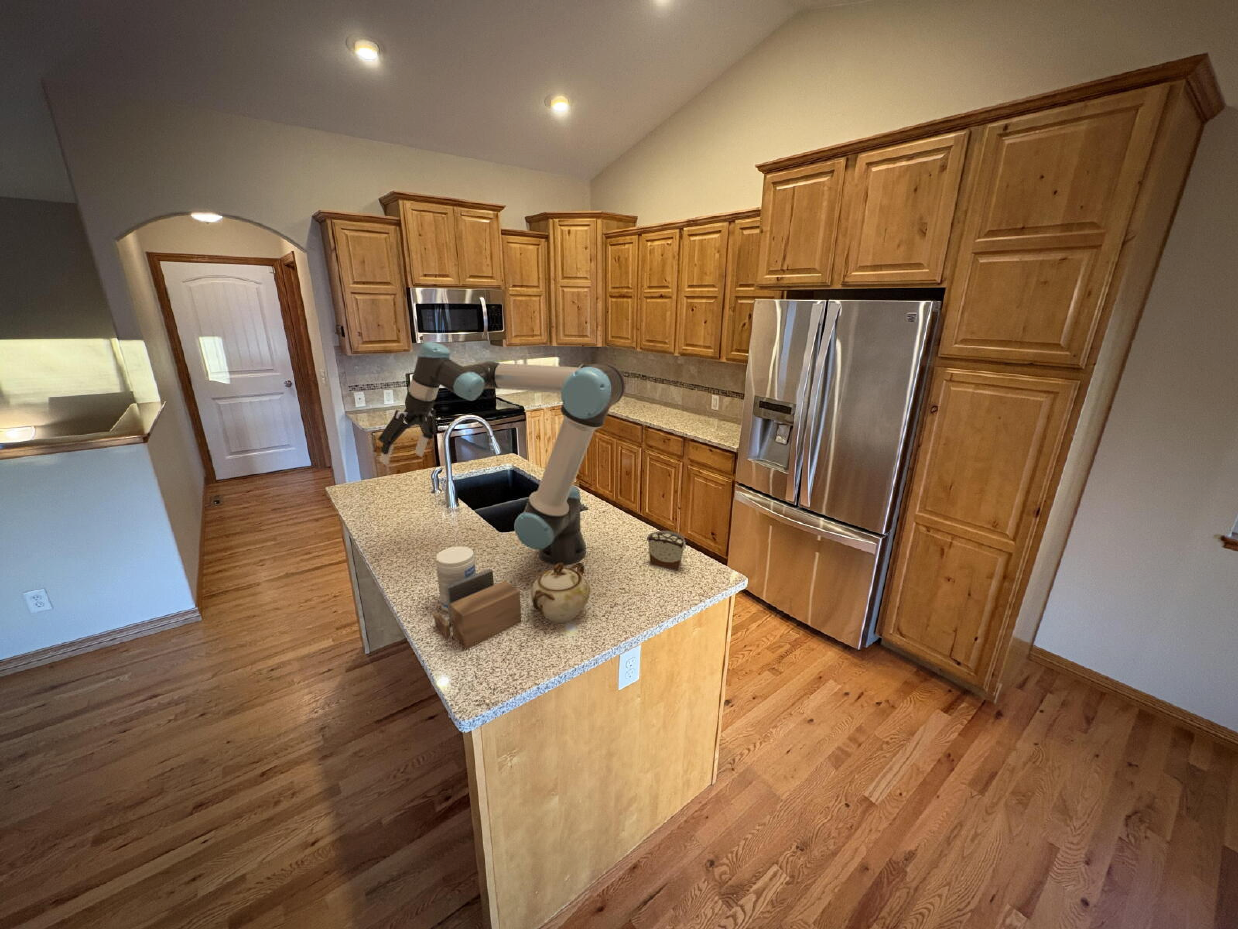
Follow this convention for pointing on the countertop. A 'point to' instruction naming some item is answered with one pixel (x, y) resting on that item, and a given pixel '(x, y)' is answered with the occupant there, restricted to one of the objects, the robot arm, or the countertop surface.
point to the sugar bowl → (561, 592)
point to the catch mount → (482, 614)
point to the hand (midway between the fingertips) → (401, 458)
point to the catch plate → (468, 586)
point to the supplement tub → (453, 568)
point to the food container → (666, 549)
